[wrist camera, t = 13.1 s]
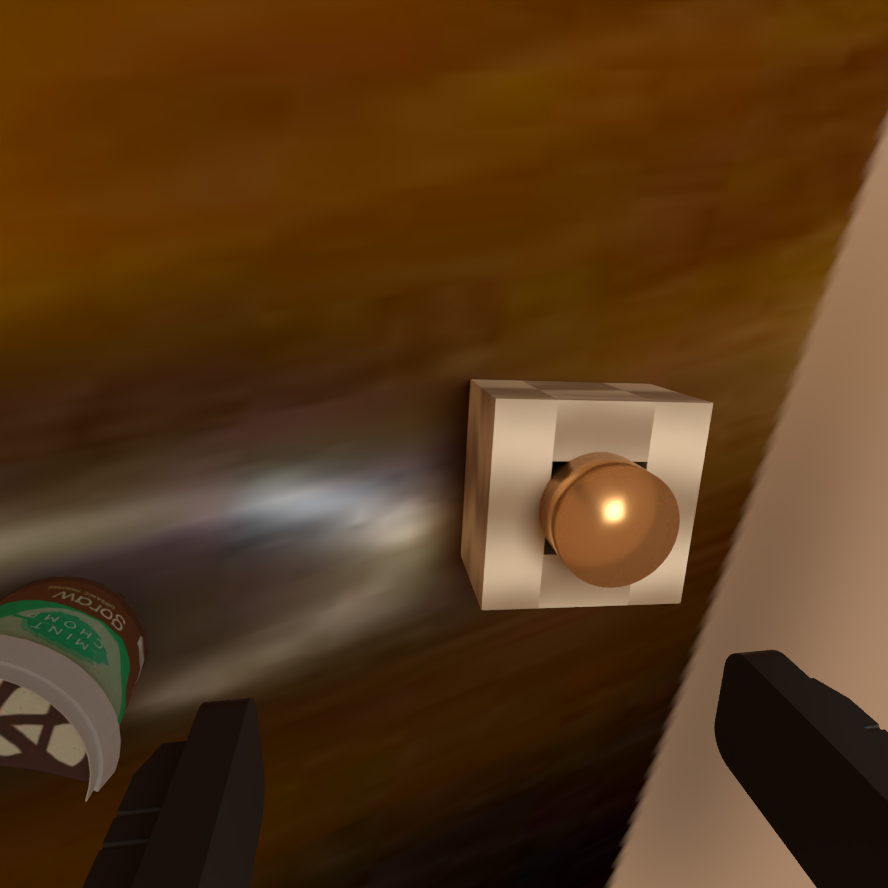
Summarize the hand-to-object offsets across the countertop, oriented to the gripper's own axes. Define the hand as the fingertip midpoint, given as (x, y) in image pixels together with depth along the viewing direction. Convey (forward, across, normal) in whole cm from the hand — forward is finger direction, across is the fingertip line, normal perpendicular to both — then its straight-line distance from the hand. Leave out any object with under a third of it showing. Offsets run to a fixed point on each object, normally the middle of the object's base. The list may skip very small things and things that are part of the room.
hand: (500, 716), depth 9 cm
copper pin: (+26, -10, +6) cm, 29 cm away
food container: (+26, +20, +13) cm, 36 cm away
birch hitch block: (+27, -10, +6) cm, 29 cm away
